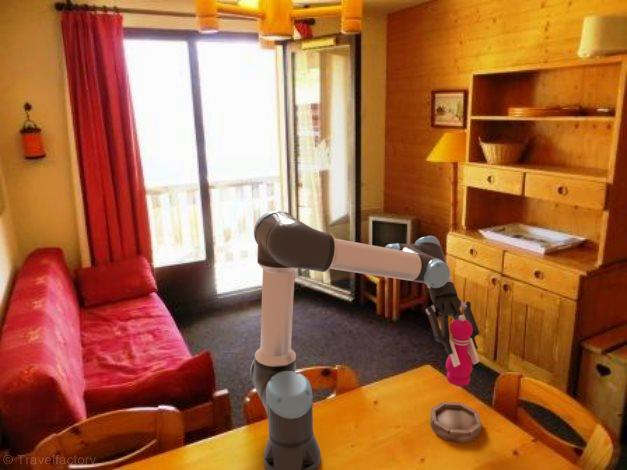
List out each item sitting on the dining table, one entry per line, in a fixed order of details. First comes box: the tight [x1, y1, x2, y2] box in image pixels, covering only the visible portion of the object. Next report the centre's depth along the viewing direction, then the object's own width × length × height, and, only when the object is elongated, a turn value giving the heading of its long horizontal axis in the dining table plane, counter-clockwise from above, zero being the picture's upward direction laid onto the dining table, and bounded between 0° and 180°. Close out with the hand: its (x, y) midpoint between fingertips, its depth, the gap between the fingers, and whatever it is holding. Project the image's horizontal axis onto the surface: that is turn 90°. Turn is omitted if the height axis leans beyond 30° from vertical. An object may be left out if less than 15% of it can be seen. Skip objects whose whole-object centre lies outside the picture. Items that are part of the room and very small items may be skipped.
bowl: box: [429, 401, 483, 444], centre depth 135 cm, size 14×14×3 cm
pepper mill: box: [445, 314, 474, 387], centre depth 129 cm, size 7×7×20 cm
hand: (466, 363), depth 126 cm, fingers closed on pepper mill, 5 cm apart
